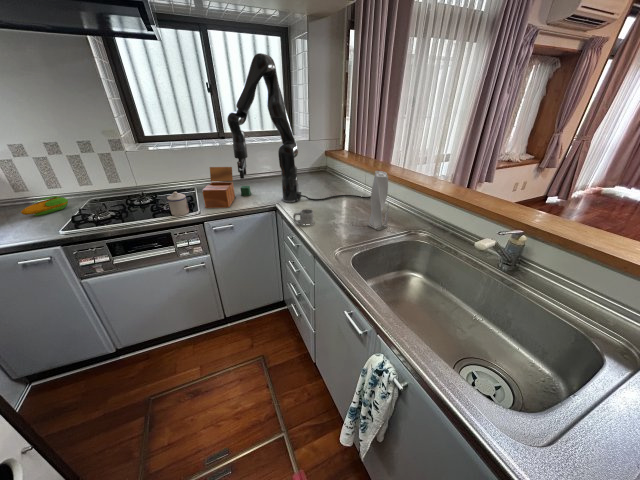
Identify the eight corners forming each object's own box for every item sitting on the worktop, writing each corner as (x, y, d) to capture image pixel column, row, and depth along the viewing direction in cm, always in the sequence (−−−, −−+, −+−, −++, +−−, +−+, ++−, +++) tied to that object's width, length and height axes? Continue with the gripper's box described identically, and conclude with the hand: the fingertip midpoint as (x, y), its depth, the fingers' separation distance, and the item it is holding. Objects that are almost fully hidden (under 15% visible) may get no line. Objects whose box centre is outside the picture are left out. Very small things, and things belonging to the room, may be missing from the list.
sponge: (250, 193, 172) (249, 185, 170) (249, 195, 168) (248, 188, 166) (242, 193, 172) (241, 185, 170) (241, 195, 168) (240, 188, 165)
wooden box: (213, 197, 165) (210, 181, 160) (235, 197, 166) (232, 180, 161) (205, 207, 150) (201, 190, 145) (229, 207, 151) (226, 190, 146)
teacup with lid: (192, 212, 144) (187, 192, 138) (175, 217, 138) (169, 196, 132) (183, 206, 151) (178, 187, 145) (166, 211, 145) (160, 190, 139)
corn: (67, 193, 145) (20, 206, 129) (74, 206, 149) (29, 220, 133) (60, 192, 148) (12, 204, 132) (67, 205, 151) (21, 219, 135)
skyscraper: (375, 231, 126) (383, 173, 113) (363, 225, 132) (369, 169, 119) (387, 227, 131) (396, 170, 117) (375, 221, 136) (382, 166, 123)
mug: (313, 221, 136) (313, 208, 133) (313, 226, 130) (313, 214, 127) (294, 220, 136) (293, 208, 133) (293, 226, 130) (292, 214, 127)
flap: (210, 181, 160) (210, 181, 160) (232, 181, 161) (232, 181, 161) (209, 167, 158) (209, 167, 159) (231, 166, 159) (231, 166, 160)
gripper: (244, 151, 151) (247, 180, 158) (248, 147, 163) (251, 173, 171) (231, 151, 150) (235, 180, 158) (236, 147, 162) (239, 173, 170)
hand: (243, 176), depth 164 cm, fingers open, 8 cm apart
